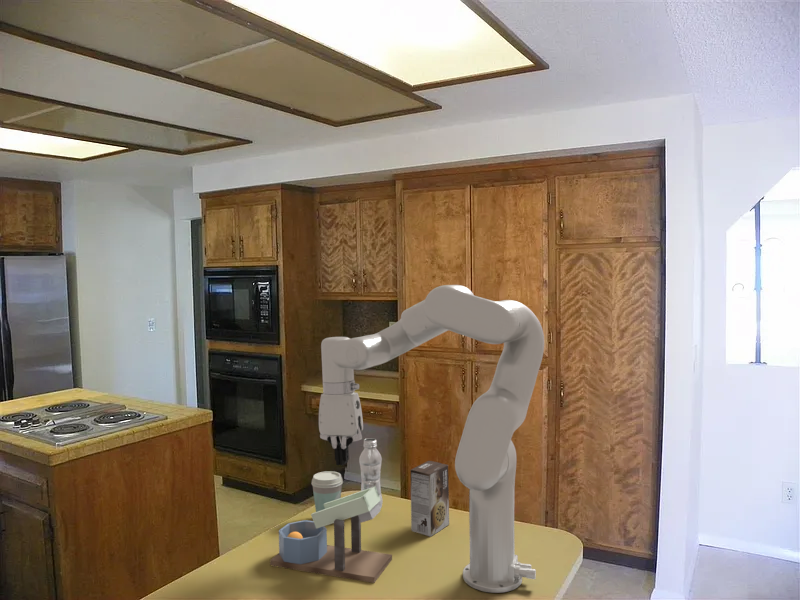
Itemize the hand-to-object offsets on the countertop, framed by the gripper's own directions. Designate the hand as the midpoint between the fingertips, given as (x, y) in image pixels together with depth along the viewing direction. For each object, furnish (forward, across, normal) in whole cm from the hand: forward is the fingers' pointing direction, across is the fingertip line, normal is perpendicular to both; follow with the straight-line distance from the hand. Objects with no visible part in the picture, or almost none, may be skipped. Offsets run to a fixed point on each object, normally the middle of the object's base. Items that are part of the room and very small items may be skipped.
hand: (342, 463), depth 142 cm
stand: (+20, 0, +8) cm, 22 cm away
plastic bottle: (+20, +2, -23) cm, 31 cm away
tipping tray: (+11, -6, +5) cm, 13 cm away
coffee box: (+21, -16, -17) cm, 31 cm away
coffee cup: (+20, +12, -14) cm, 27 cm away
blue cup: (+19, +7, +8) cm, 22 cm away
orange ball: (+16, +9, +8) cm, 20 cm away
